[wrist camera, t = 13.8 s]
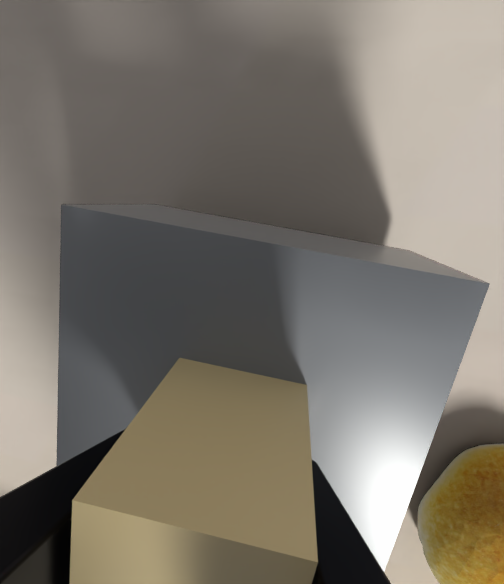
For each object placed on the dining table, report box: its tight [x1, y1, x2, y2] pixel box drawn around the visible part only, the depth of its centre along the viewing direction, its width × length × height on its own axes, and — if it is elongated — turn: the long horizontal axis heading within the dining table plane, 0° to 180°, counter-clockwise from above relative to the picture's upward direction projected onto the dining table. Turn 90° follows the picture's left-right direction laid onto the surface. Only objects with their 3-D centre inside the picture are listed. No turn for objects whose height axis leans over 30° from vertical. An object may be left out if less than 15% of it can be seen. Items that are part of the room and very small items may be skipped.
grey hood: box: [57, 204, 489, 584], centre depth 9 cm, size 9×9×9 cm
